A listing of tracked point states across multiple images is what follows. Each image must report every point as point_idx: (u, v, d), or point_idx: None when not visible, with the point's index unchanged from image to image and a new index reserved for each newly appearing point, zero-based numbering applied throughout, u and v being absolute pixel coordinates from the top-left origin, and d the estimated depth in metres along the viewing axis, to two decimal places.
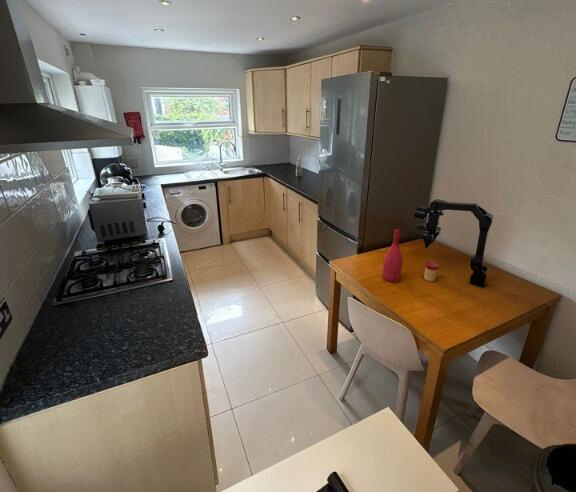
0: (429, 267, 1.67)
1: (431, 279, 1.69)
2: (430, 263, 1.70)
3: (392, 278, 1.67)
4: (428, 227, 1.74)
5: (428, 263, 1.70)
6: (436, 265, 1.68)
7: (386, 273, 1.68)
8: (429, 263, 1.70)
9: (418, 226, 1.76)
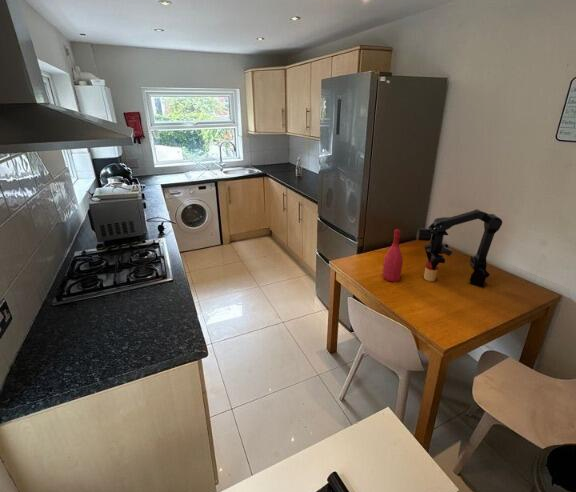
0: (429, 267, 1.67)
1: (431, 279, 1.69)
2: (430, 263, 1.70)
3: (392, 278, 1.67)
4: None
5: (428, 263, 1.70)
6: None
7: (386, 273, 1.68)
8: (429, 263, 1.70)
9: None
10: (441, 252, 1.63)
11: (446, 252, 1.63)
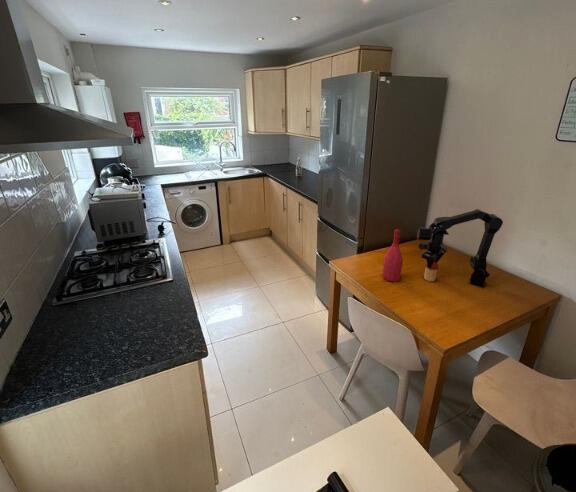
0: None
1: (431, 279, 1.69)
2: None
3: (392, 278, 1.67)
4: (431, 247, 1.65)
5: (435, 265, 1.67)
6: None
7: (386, 273, 1.68)
8: (434, 265, 1.67)
9: (420, 245, 1.67)
10: None
11: None
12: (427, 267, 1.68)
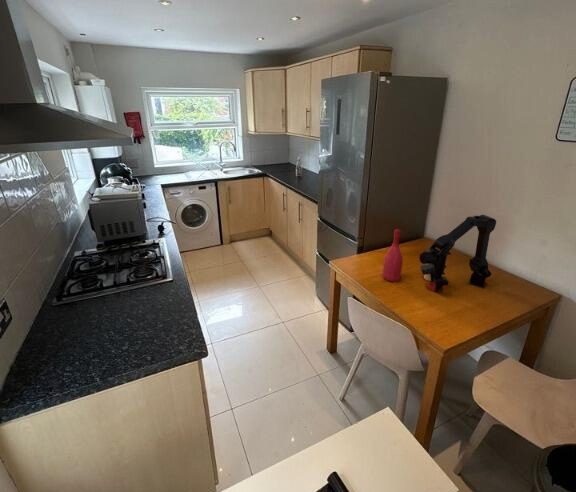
0: None
1: None
2: None
3: (392, 278, 1.67)
4: (436, 269, 1.56)
5: None
6: (430, 283, 1.63)
7: (386, 273, 1.68)
8: None
9: (427, 270, 1.55)
10: None
11: None
12: (433, 290, 1.60)
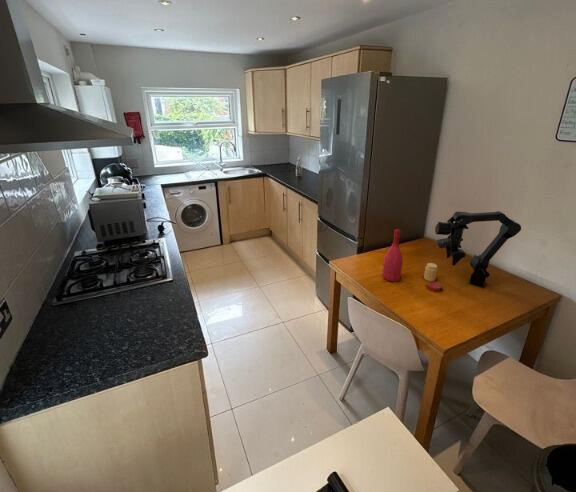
0: None
1: (431, 279, 1.69)
2: (436, 286, 1.61)
3: (392, 278, 1.67)
4: (453, 243, 1.60)
5: (438, 286, 1.61)
6: (430, 283, 1.63)
7: (386, 273, 1.68)
8: (437, 286, 1.61)
9: (444, 244, 1.59)
10: None
11: None
12: (433, 290, 1.60)
